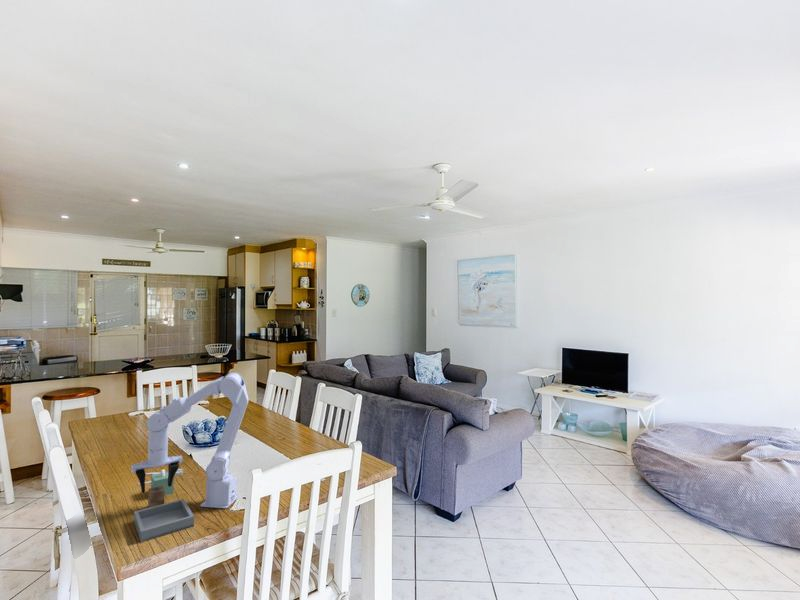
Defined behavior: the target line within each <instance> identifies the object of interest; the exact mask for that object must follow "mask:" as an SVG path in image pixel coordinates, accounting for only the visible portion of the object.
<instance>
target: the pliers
mask: <svg viewBox="0 0 800 600" xmlns="http://www.w3.org/2000/svg"><path fill="white" fill-rule="evenodd" d="M160 472H161V471H158V472H157V471H155V472H154V471H153V472H145V474H146V475H145V476H151V475H154V474H159V473H160ZM183 474H184V469H183V468H178V470H177V471H176V473H175V475H174V477H177V476H183ZM148 484H151V480H149V481H145V485H148ZM137 486H141V485H140V482H139V483H137Z"/></svg>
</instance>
